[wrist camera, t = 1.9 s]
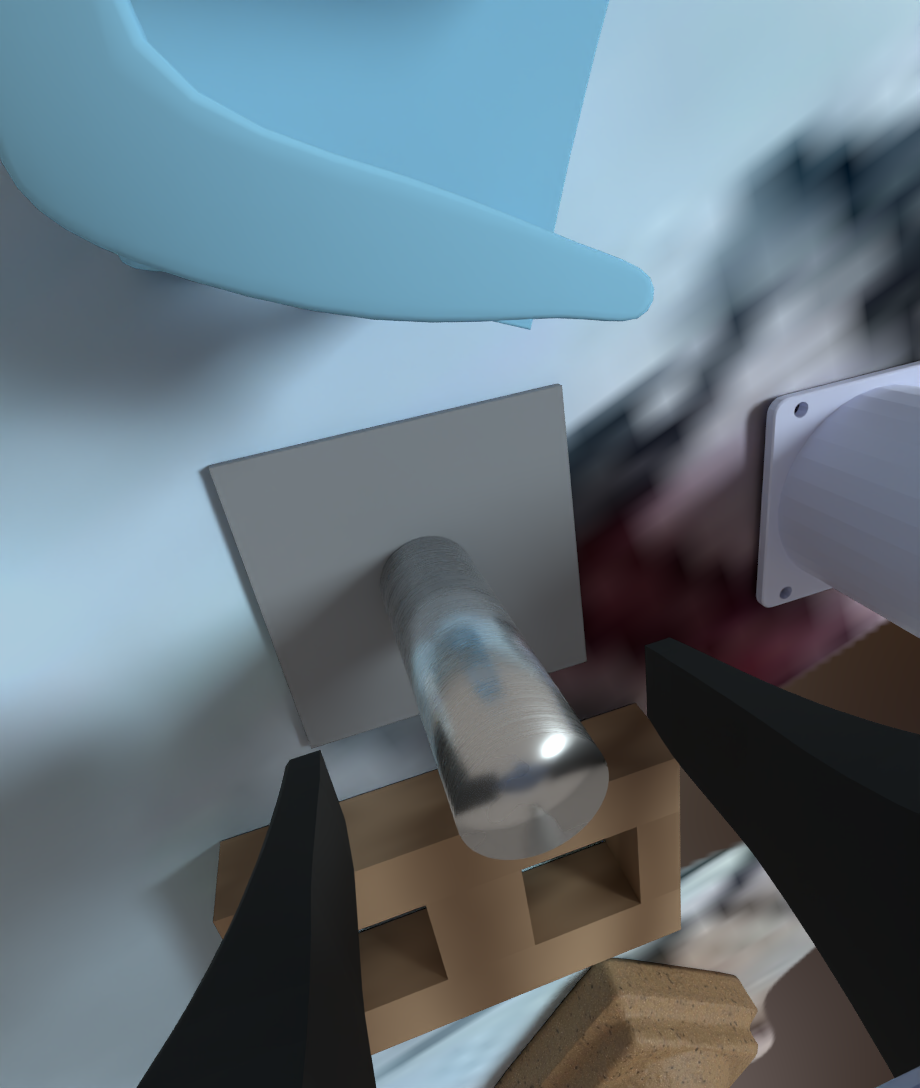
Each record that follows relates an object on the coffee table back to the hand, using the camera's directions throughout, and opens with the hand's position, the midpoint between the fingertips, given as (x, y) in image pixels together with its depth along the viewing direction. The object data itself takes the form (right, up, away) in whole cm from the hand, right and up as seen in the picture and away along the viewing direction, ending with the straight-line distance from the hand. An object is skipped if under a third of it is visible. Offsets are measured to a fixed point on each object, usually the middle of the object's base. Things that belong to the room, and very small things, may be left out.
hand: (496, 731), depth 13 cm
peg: (-2, +3, +6) cm, 7 cm away
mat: (-2, +3, +6) cm, 7 cm away
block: (-1, -9, +12) cm, 15 cm away
